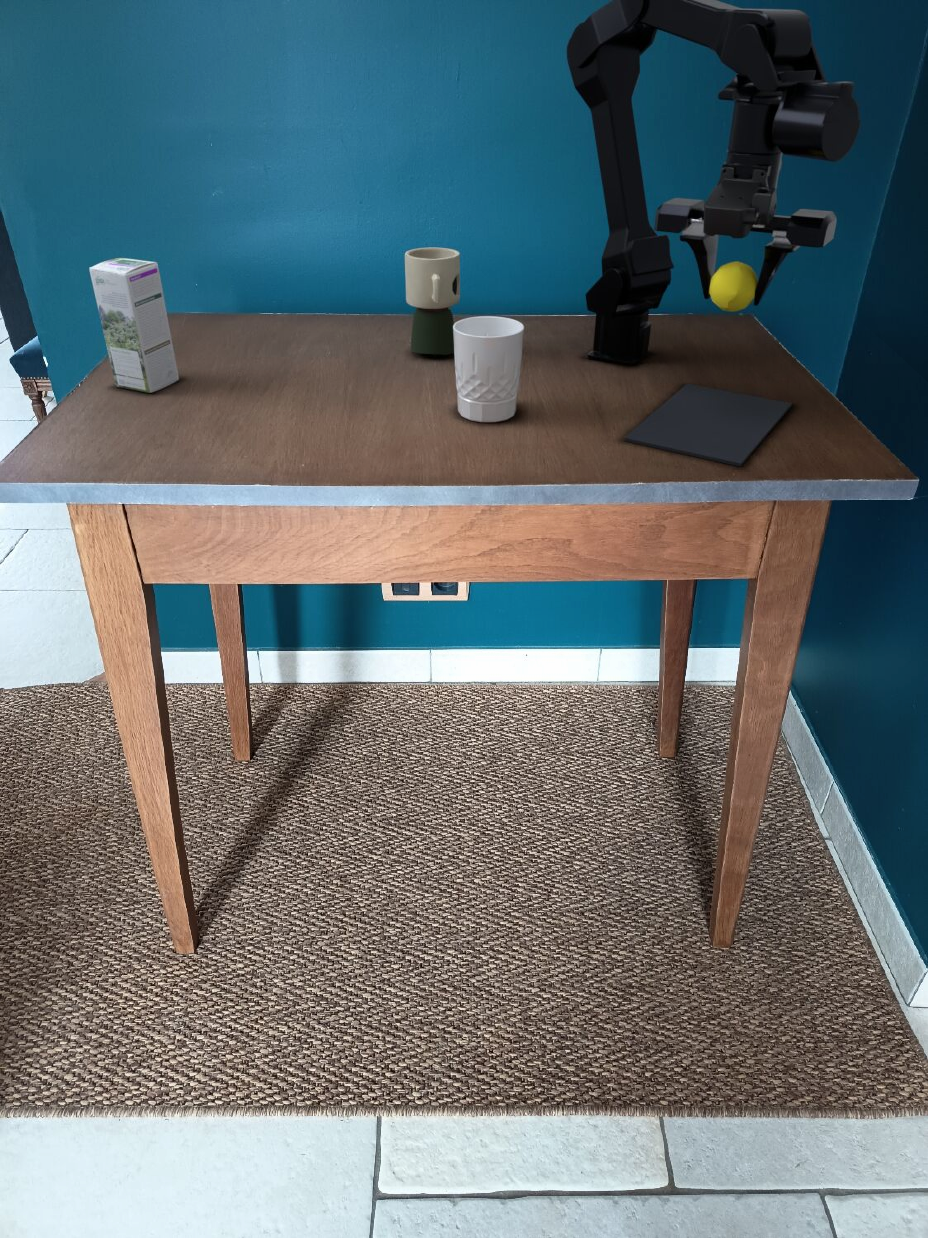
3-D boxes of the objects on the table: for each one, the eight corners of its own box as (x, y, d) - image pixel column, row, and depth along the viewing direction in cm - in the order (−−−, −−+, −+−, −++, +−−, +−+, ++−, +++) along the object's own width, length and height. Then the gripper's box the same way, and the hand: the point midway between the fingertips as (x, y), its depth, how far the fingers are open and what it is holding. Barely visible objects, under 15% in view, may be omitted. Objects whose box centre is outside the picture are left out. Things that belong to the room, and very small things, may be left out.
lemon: (757, 319, 104) (765, 269, 101) (708, 317, 104) (715, 268, 101) (750, 303, 109) (757, 255, 106) (703, 301, 110) (710, 254, 107)
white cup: (473, 429, 103) (473, 340, 98) (441, 406, 109) (440, 321, 103) (533, 417, 106) (537, 330, 101) (499, 395, 112) (502, 312, 106)
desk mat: (623, 440, 101) (624, 437, 100) (686, 386, 115) (687, 383, 115) (740, 466, 95) (741, 463, 95) (791, 406, 109) (792, 403, 109)
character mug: (465, 364, 121) (465, 261, 114) (411, 367, 121) (408, 263, 113) (454, 339, 130) (454, 242, 123) (404, 341, 130) (401, 244, 122)
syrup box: (181, 379, 116) (160, 259, 108) (149, 395, 112) (125, 271, 104) (145, 373, 118) (122, 255, 110) (113, 388, 114) (86, 265, 106)
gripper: (644, 154, 96) (629, 307, 104) (828, 166, 88) (796, 330, 97) (679, 142, 104) (663, 285, 112) (851, 153, 96) (820, 306, 105)
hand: (731, 301), depth 106 cm, fingers closed on lemon, 5 cm apart
